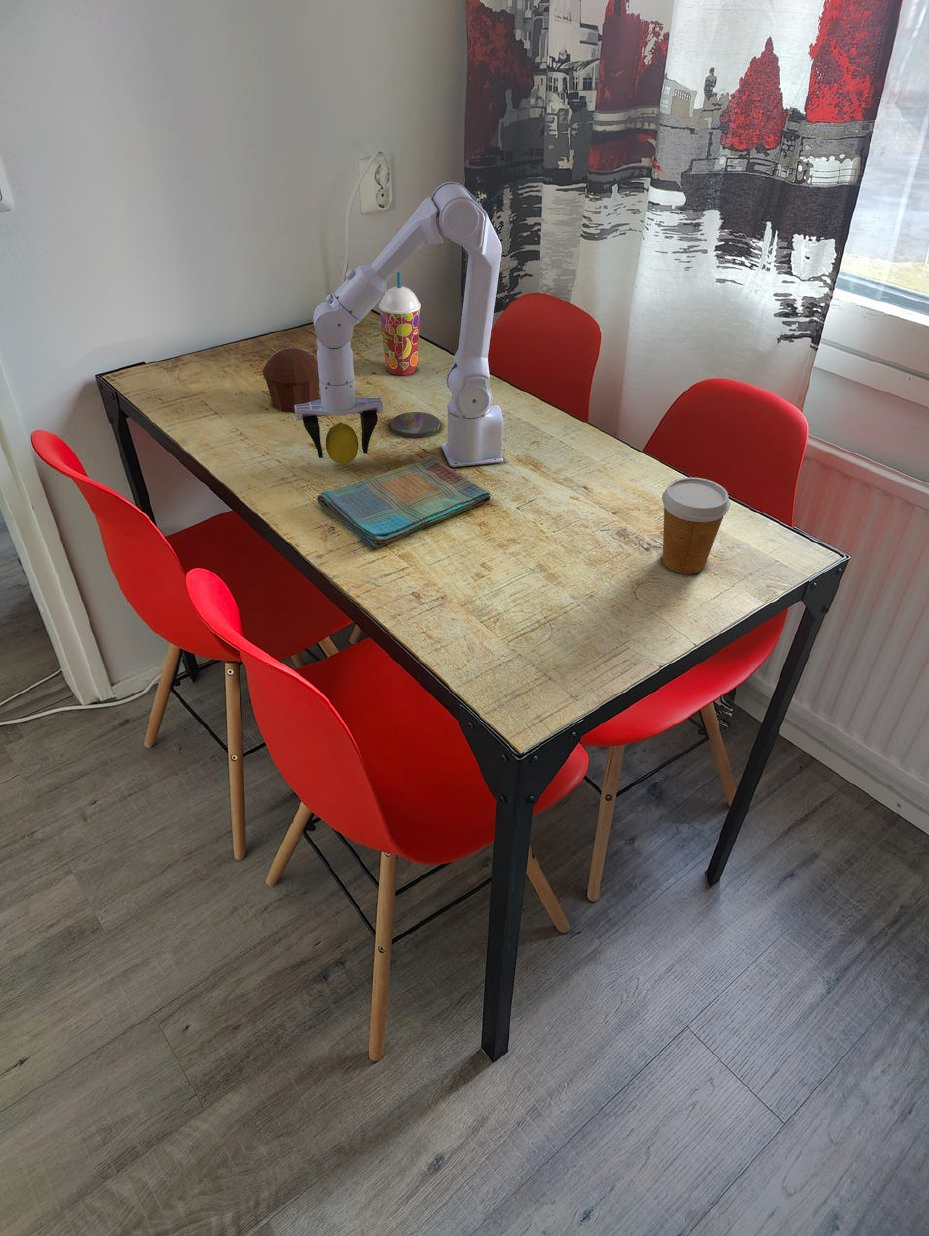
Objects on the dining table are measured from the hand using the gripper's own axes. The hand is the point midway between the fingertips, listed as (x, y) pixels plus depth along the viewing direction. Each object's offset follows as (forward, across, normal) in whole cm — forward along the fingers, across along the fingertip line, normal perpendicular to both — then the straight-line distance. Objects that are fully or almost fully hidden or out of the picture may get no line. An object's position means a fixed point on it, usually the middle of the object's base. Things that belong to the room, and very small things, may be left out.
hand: (342, 453), depth 155 cm
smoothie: (+2, -17, -38) cm, 42 cm away
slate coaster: (+2, -15, -12) cm, 19 cm away
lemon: (+2, 0, 0) cm, 2 cm away
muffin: (+2, +6, -27) cm, 28 cm away
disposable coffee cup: (+2, -46, +40) cm, 61 cm away
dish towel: (+2, -8, +15) cm, 17 cm away
